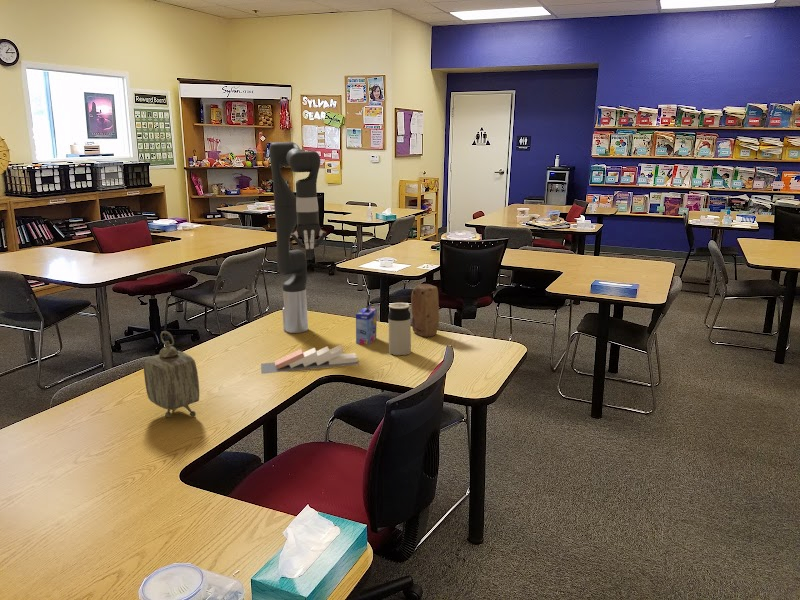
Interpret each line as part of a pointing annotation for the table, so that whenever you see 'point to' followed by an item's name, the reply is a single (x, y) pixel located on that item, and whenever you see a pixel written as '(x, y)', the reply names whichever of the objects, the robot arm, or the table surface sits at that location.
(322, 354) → the domino
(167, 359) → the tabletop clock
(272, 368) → the mat
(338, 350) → the domino
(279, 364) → the domino
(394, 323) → the travel mug
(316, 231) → the robot arm
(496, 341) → the table surface
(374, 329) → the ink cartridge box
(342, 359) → the domino
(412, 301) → the block
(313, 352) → the domino
